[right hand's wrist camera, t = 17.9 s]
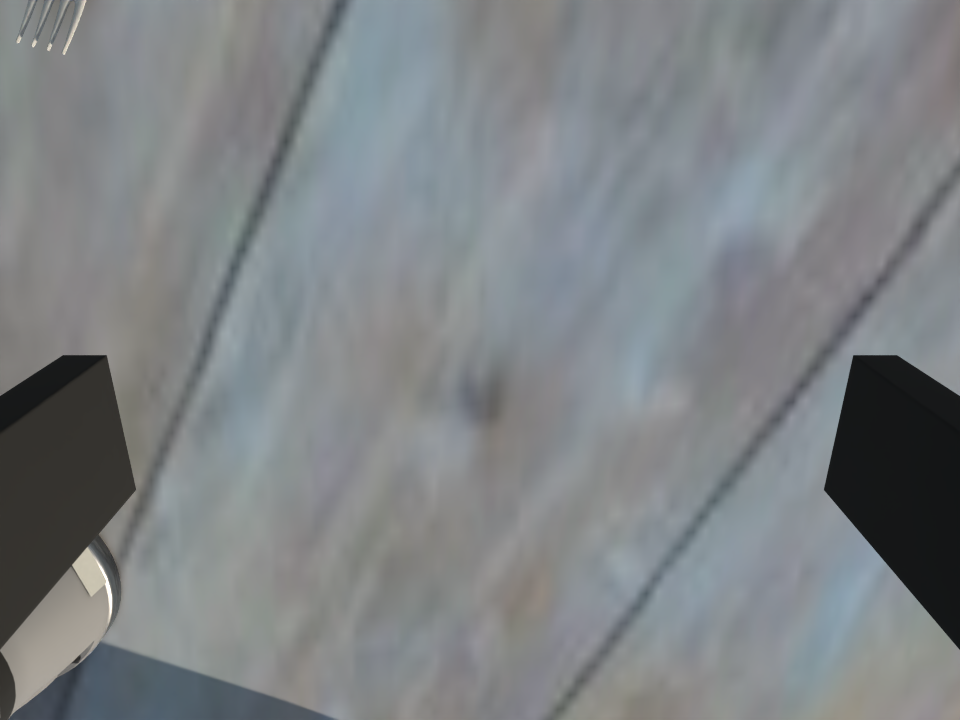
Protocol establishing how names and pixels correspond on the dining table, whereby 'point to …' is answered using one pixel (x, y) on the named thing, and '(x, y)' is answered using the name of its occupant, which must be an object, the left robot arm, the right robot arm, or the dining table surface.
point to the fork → (63, 7)
